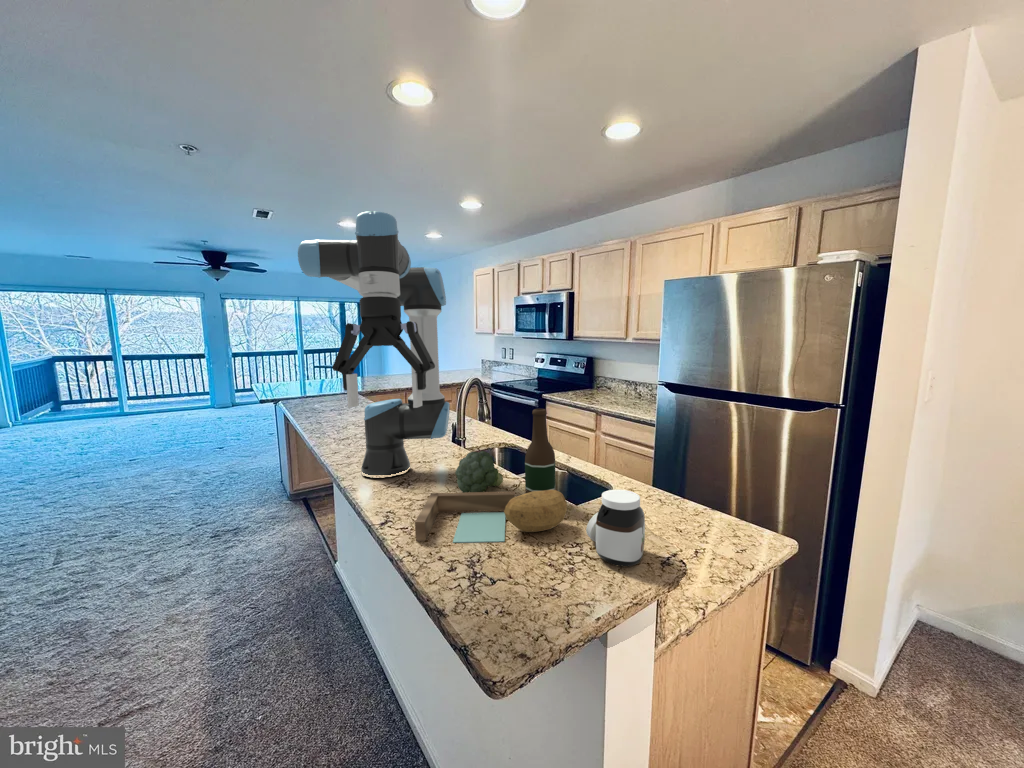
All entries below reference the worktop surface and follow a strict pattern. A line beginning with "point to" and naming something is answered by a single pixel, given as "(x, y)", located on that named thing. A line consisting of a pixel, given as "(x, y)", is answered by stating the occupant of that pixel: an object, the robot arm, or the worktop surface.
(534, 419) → the beer bottle
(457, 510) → the corner arena
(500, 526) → the pad
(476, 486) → the vegetable
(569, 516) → the worktop surface
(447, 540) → the worktop surface
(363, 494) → the worktop surface
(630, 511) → the spread jar
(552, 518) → the potato
